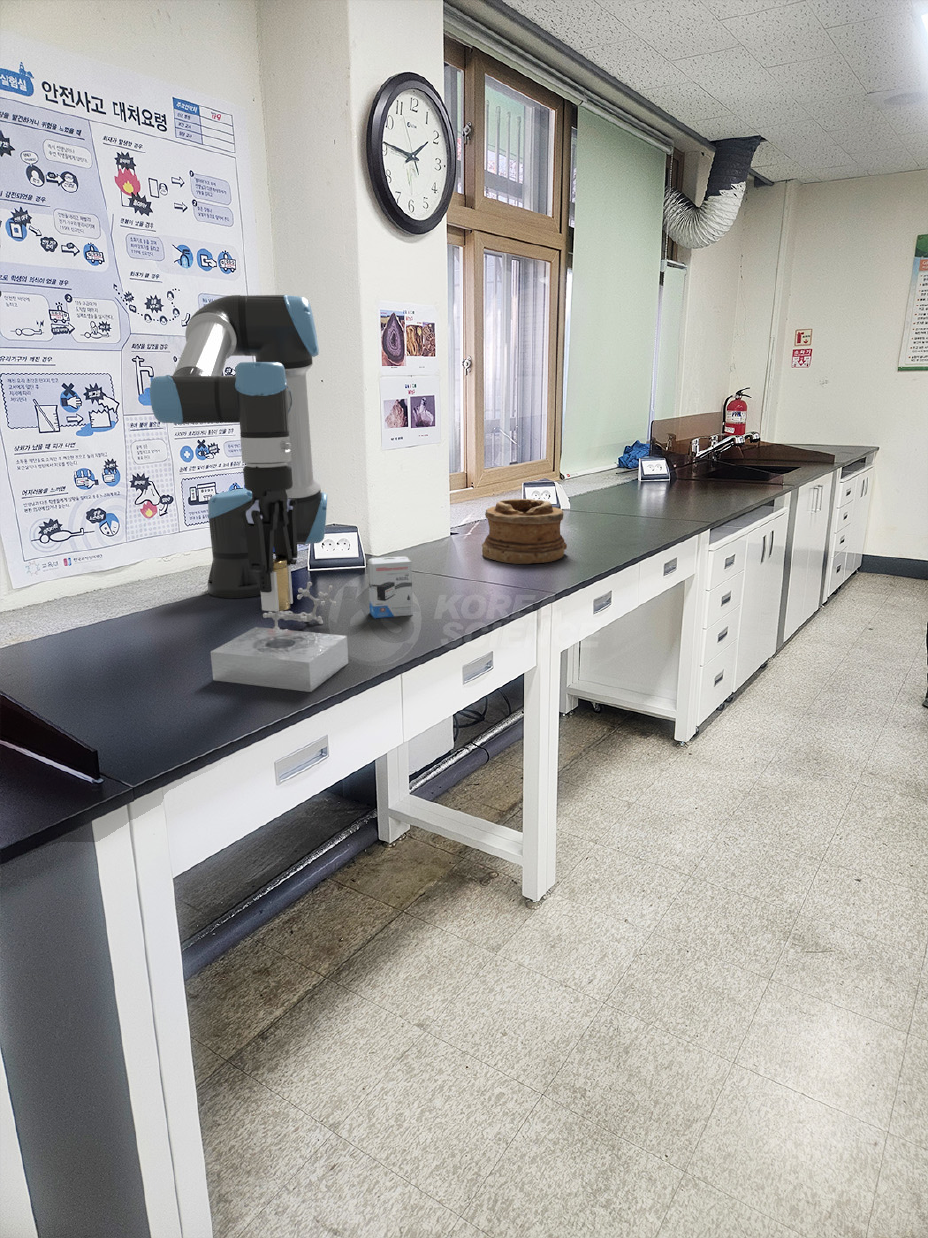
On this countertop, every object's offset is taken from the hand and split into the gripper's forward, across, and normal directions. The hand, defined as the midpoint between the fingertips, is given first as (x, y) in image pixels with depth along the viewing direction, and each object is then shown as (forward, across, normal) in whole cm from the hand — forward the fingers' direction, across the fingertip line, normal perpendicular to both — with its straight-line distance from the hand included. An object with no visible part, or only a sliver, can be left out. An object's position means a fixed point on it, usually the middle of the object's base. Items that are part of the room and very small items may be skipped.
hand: (277, 606), depth 134 cm
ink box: (+12, +37, -5) cm, 39 cm away
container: (+11, +100, -19) cm, 103 cm away
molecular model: (+12, +21, +9) cm, 26 cm away
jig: (+12, 0, 0) cm, 12 cm away
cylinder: (0, 0, 0) cm, 0 cm away
